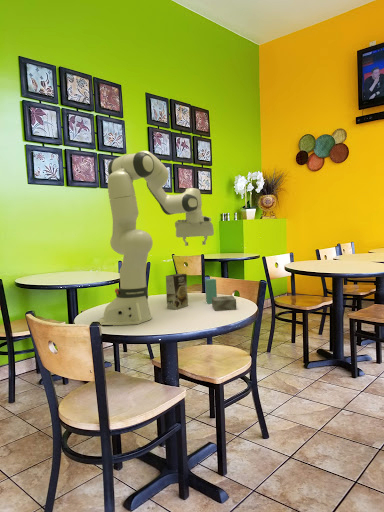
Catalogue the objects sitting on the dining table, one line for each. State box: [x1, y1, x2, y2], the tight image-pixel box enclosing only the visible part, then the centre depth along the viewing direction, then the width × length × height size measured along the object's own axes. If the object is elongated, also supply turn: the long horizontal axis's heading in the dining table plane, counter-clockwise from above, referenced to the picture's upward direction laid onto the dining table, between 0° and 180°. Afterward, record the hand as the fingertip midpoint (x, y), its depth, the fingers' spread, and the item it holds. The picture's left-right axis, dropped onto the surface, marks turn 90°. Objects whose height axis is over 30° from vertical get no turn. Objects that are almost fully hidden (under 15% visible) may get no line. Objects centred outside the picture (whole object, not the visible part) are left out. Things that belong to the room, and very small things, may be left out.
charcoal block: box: [211, 295, 238, 312], centre depth 187 cm, size 10×10×5 cm
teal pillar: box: [204, 278, 218, 305], centre depth 201 cm, size 4×4×12 cm
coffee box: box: [165, 273, 189, 310], centre depth 194 cm, size 9×6×16 cm
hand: (195, 245), depth 211 cm, fingers open, 8 cm apart
